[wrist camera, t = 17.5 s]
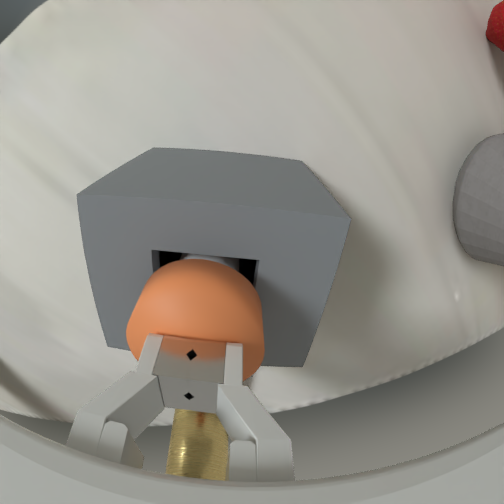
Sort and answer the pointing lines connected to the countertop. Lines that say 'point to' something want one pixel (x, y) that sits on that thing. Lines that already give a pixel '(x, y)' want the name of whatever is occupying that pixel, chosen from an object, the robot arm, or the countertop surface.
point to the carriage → (197, 446)
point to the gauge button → (200, 307)
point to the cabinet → (216, 236)
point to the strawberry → (496, 26)
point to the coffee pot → (482, 201)
